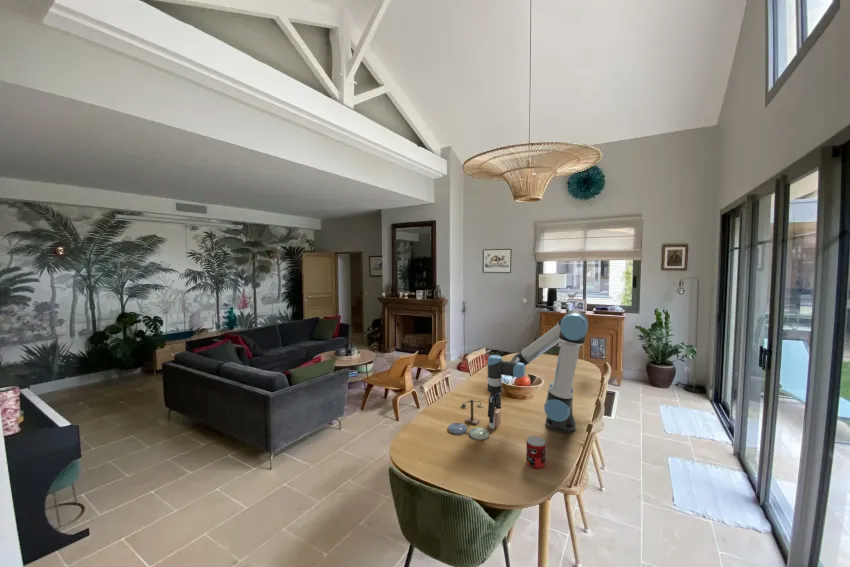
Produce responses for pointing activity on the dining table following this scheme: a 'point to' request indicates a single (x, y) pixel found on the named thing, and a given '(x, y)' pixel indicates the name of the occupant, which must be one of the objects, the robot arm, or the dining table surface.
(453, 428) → the saucer slate far
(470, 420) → the balance
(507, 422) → the dining table surface
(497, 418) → the block
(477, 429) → the saucer sage near
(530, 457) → the canned food
